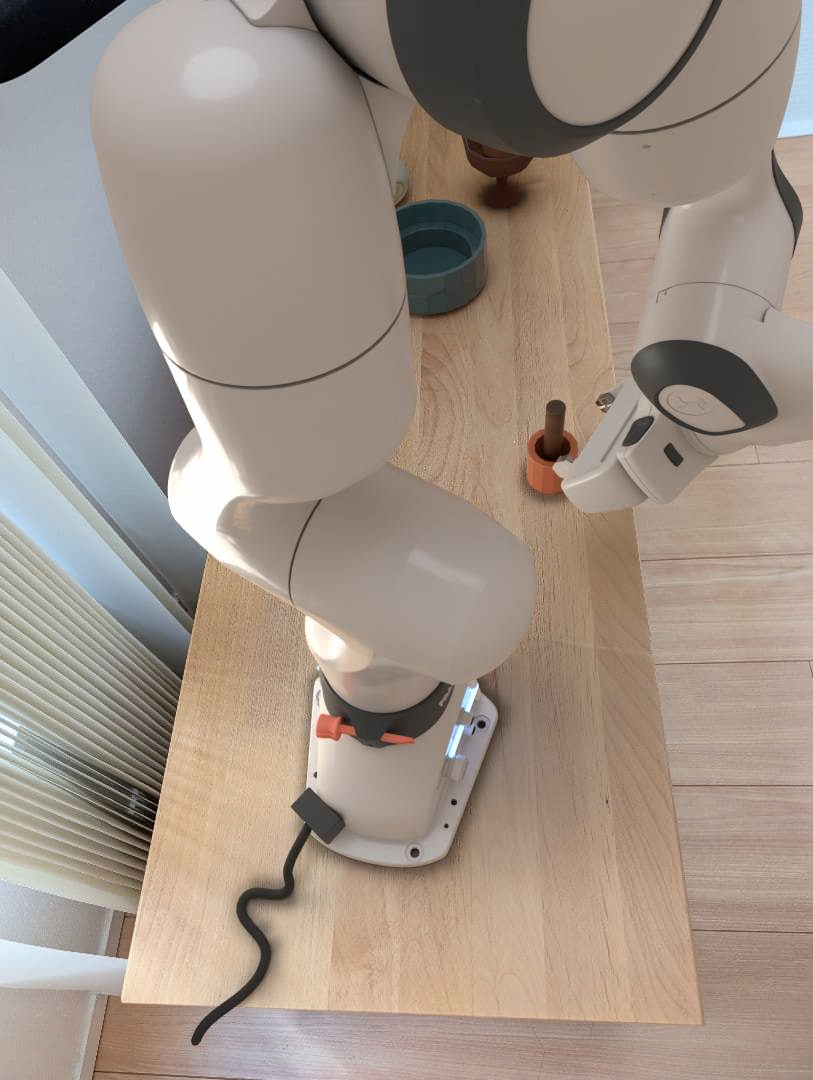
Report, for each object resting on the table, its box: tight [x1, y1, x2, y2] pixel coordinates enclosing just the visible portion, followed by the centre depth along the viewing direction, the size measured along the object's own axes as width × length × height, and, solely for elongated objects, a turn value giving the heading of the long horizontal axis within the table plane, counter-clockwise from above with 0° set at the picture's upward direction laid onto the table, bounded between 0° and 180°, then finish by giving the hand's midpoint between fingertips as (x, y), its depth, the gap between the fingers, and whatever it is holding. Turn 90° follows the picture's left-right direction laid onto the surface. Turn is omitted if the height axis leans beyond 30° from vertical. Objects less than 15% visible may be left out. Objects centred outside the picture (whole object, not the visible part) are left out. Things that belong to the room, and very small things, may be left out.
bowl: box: [395, 198, 489, 315], centre depth 105 cm, size 15×15×7 cm
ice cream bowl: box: [461, 136, 535, 209], centre depth 109 cm, size 11×11×15 cm
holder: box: [525, 428, 579, 495], centre depth 87 cm, size 5×6×6 cm
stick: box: [543, 399, 567, 462], centre depth 84 cm, size 2×2×12 cm
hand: (580, 434), depth 80 cm, fingers open, 8 cm apart
